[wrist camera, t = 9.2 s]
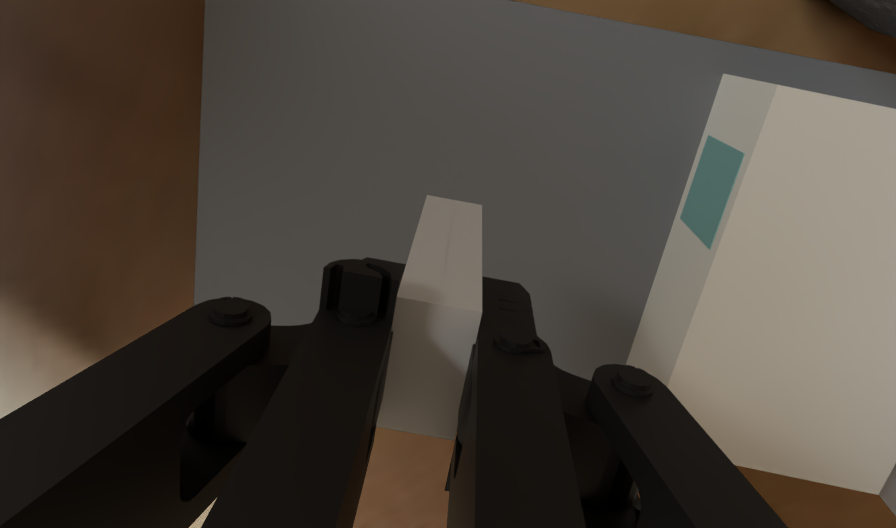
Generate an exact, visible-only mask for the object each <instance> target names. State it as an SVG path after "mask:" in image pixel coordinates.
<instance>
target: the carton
mask: <svg viewBox="0 0 896 528" xmlns="http://www.w3.org/2000/svg"><path fill="white" fill-rule="evenodd" d="M626 365H630V366H634V367H635V368H640V369H642V370H645V371H646V372H647V373H648V374H650V375H652V376H654V377H656V378H657V379H659V380H660V381H661V382H662V383H663V384H664V385H666V386H667V387H668V389H669V390H670V391H671V392H672V393H673V394H674V396H675V397H676V398H677V399H678V400H679V401H680V402H681V404H682V405H683V406H684V407H685V408H686V409H687V411H688V412H689V413H690V414H691V415H692V416H693V418H694V419H695V420H696V421H697V422H698V423H699V425H700V426H701V427H702V428H703V429H704V430H705V432H706V433H707V434H708V435H709V436H710V437H711V438H712V440H713V441H714V442H715V443H716V444H717V445H718V447H719V448H720V449H721V450H722V451H723V452H724V454H725V455H726V456H727V457H728V458H729V459H730V461H731V462H732V463H733V464H734V465H737V466H742V467H746V468H751V469H756V470H761V471H766V472H770V473H775V474H780V475H785V476H789V477H794V478H799V479H804V480H809V481H813V482H818V483H823V484H828V485H833V486H837V487H842V488H847V489H852V490H857V491H861V492H866V493H871V494H876V495H879V493H880V491H881V489H882V487H883V486H884V484H885V482H886V480H887V478H888V476H889V475H890V473H891V471H892V469H893V467H894V466H895V464H896V109H894V108H889V107H884V106H879V105H874V104H869V103H864V102H860V101H855V100H850V99H845V98H840V97H835V96H830V95H826V94H821V93H816V92H811V91H806V90H801V89H796V88H792V87H787V86H782V85H777V84H772V83H767V82H762V81H757V80H753V79H748V78H743V77H738V76H733V75H728V74H723V76H722V79H721V82H720V85H719V88H718V91H717V94H716V97H715V100H714V103H713V106H712V109H711V112H710V115H709V118H708V121H707V124H706V127H705V130H704V133H703V136H702V139H701V142H700V145H699V148H698V151H697V154H696V157H695V160H694V163H693V166H692V169H691V172H690V175H689V178H688V180H687V183H686V186H685V189H684V192H683V195H682V198H681V201H680V204H679V207H678V210H677V213H676V216H675V219H674V222H673V225H672V228H671V231H670V234H669V237H668V240H667V243H666V246H665V249H664V252H663V255H662V258H661V261H660V264H659V267H658V270H657V273H656V276H655V279H654V282H653V285H652V288H651V291H650V294H649V297H648V300H647V303H646V306H645V309H644V312H643V315H642V318H641V321H640V324H639V327H638V330H637V333H636V336H635V339H634V342H633V345H632V348H631V351H630V354H629V357H628V360H627V362H626Z"/></svg>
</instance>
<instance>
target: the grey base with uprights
mask: <svg viewBox="0 0 896 528" xmlns="http://www.w3.org/2000/svg"><path fill="white" fill-rule="evenodd" d="M723 74H728V75H733V76H738V77H743V78H748V79H753V80H757V81H762V82H767V83H772V84H777V85H782V86H787V87H792V88H796V89H801V90H806V91H811V92H816V93H821V94H826V95H830V96H835V97H840V98H845V99H850V100H855V101H860V102H864V103H869V104H874V105H879V106H884V107H889V108H894V109H896V74H892V73H887V72H882V71H877V70H871V69H866V68H861V67H856V66H851V65H845V64H840V63H835V62H830V61H824V60H819V59H814V58H809V57H803V56H798V55H793V54H788V53H783V52H777V51H772V50H767V49H762V48H756V47H751V46H746V45H741V44H736V43H730V42H725V41H720V40H715V39H709V38H704V37H699V36H694V35H688V34H683V33H678V32H673V31H668V30H662V29H657V28H652V27H647V26H641V25H636V24H631V23H626V22H620V21H615V20H610V19H605V18H600V17H594V16H589V15H584V14H579V13H573V12H568V11H563V10H558V9H553V8H547V7H542V6H537V5H532V4H526V3H521V2H516V1H511V0H205V15H204V42H203V68H202V95H201V122H200V149H199V176H198V202H197V229H196V256H195V283H194V306H195V305H197V304H199V303H202V302H204V301H207V300H211V299H218V298H221V297H231V298H233V297H240V298H243V299H246V300H251V301H254V302H256V303H259V304H261V305H263V306H265V307H266V308H267V309H268V310H269V311H270V312H271V326H292V325H303V324H309V323H312V322H313V320H314V318H315V316H316V314H317V313H318V311H319V305H320V296H321V287H322V278H323V269H324V267H325V266H326V265H327V264H329V263H330V262H333V261H337V260H342V259H360V260H362V259H364V258H366V257H369V258H375V259H380V260H386V261H391V262H397V263H402V264H406V263H407V260H408V257H409V254H410V250H411V247H412V244H413V240H414V237H415V234H416V230H417V227H418V224H419V220H420V217H421V214H422V210H423V207H424V204H425V200H426V197H427V195H430V196H435V197H441V198H446V199H452V200H457V201H463V202H468V203H474V204H479V205H482V276H483V277H489V278H494V279H500V280H505V281H511V282H516V283H520V284H521V285H522V286H523V287H524V288H525V289H526V291H527V292H528V293H529V294H530V298H531V303H532V306H531V307H532V309H533V316H534V321H535V327H536V333H537V336H538V337H539V338H540V339H542V340H543V341H544V342H545V343H547V345H548V347H549V349H550V350H551V354H552V359H553V364H554V365H555V366H556V367H558V368H560V369H562V370H564V371H566V372H568V373H571V374H573V375H576V376H578V377H581V378H584V379H587V380H590V381H591V380H592V377H593V374H594V371H595V369H596V368H598V367H600V366H602V365H606V364H620V365H626V362H627V360H628V357H629V354H630V351H631V348H632V345H633V342H634V339H635V336H636V333H637V330H638V327H639V324H640V321H641V318H642V315H643V312H644V309H645V306H646V303H647V300H648V297H649V294H650V291H651V288H652V285H653V282H654V279H655V276H656V273H657V270H658V267H659V264H660V261H661V258H662V255H663V252H664V249H665V246H666V243H667V240H668V237H669V234H670V231H671V228H672V225H673V222H674V219H675V216H676V213H677V210H678V207H679V204H680V201H681V198H682V195H683V192H684V189H685V186H686V183H687V180H688V178H689V175H690V172H691V169H692V166H693V163H694V160H695V157H696V154H697V151H698V148H699V145H700V142H701V139H702V136H703V133H704V130H705V127H706V124H707V121H708V118H709V115H710V112H711V109H712V106H713V103H714V100H715V97H716V94H717V91H718V88H719V85H720V82H721V79H722V76H723ZM879 496H880V497H881V499H882V500H883V501H884V502H885V504H886V505H887V506H888V507H889V508H890V510H891V511H892V512H893V513H894V515H895V516H896V464H895V466H894V467H893V469H892V471H891V473H890V475H889V476H888V478H887V480H886V482H885V484H884V486H883V487H882V489H881V491H880V493H879Z"/></svg>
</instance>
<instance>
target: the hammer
mask: <svg viewBox="0 0 896 528" xmlns="http://www.w3.org/2000/svg"><path fill="white" fill-rule="evenodd" d="M829 1H831V2H832V3H833V4H835V5H836V6H838V7H839V8H840V9H842V10H843V11H845V12H846V13H848V14H849V15H850V16H852V17H853V18H855V19H856V20H857V21H859V22H860V23H862V24H863V25H864V26H866V27H867V28H869V29H870V30H873V31H876V32H879V33H882V34H885V35H888V36H891V37H894V38H896V0H829Z"/></svg>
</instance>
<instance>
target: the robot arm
mask: <svg viewBox="0 0 896 528" xmlns="http://www.w3.org/2000/svg"><path fill="white" fill-rule="evenodd" d="M531 306H532V303H531V298H530V294H529V293H528V292H527V291H526V289H525V288H524V287H523V286H522V285H521V284H520V283H516V282H511V281H505V280H500V279H494V278H489V277H483V276H482V205H479V204H474V203H468V202H463V201H457V200H452V199H446V198H441V197H435V196H430V195H427V197H426V200H425V204H424V207H423V210H422V214H421V217H420V220H419V224H418V227H417V230H416V234H415V237H414V240H413V244H412V247H411V250H410V254H409V257H408V260H407V263H406V264H402V263H397V262H391V261H386V260H380V259H375V258H369V257H366V258H364V259H362V260H360V259H342V260H337V261H333V262H330V263H329V264H327V265H326V266H325V267H324V269H323V278H322V287H321V296H320V305H319V311H318V313H317V314H316V316H315V318H314V320H313V322H312V323H309V324H303V325H292V326H271V312H270V311H269V310H268V309H267V308H266V307H265V306H263V305H261V304H259V303H256V302H254V301H251V300H246V299H243V298H240V297H233V298H231V297H221V298H218V299H211V300H207V301H204V302H202V303H199V304H197V305H195V306H193V307H191V308H190V309H188V310H186V311H185V312H183V313H181V314H179V315H178V316H176V317H174V318H173V319H171V320H169V321H167V322H166V323H164V324H162V325H161V326H159V327H157V328H155V329H154V330H152V331H150V332H149V333H147V334H145V335H143V336H142V337H140V338H138V339H137V340H135V341H133V342H131V343H130V344H128V345H126V346H125V347H123V348H121V349H119V350H118V351H116V352H114V353H113V354H111V355H109V356H107V357H106V358H104V359H102V360H101V361H99V362H97V363H95V364H94V365H92V366H90V367H89V368H87V369H85V370H83V371H82V372H80V373H78V374H77V375H75V376H73V377H71V378H70V379H68V380H66V381H65V382H63V383H61V384H59V385H58V386H56V387H54V388H53V389H51V390H49V391H47V392H46V393H44V394H42V395H41V396H39V397H37V398H35V399H34V400H32V401H30V402H29V403H27V404H25V405H23V406H22V407H20V408H18V409H17V410H15V411H13V412H11V413H10V414H8V415H6V416H5V417H3V418H1V419H0V528H189V527H190V526H191V524H192V523H193V522H194V521H195V520H196V519H197V518H198V517H199V516H200V515H201V514H202V513H203V512H204V511H205V510H206V509H207V507H208V506H209V505H210V504H211V503H212V502H213V501H214V500H215V499H216V498H217V499H216V501H215V503H214V505H213V507H212V508H211V510H210V512H209V514H208V516H207V518H206V520H205V521H204V523H203V525H202V527H201V528H353V524H354V520H355V516H356V511H357V507H358V503H359V499H360V495H361V491H362V487H363V483H364V479H365V475H366V471H367V467H368V463H369V459H370V455H371V451H372V447H373V442H374V436H375V430H376V427H380V428H386V429H391V430H397V431H403V432H408V433H414V434H420V435H425V436H431V437H437V438H442V439H448V440H455V435H456V430H457V436H456V440H455V445H454V450H453V454H452V459H451V463H450V468H449V472H448V477H447V482H446V486H445V491H449V504H448V518H447V528H788V527H787V526H786V524H785V523H784V522H783V521H782V520H781V519H780V517H779V516H778V515H777V514H776V513H775V512H774V510H773V509H772V508H771V507H770V506H769V505H768V503H767V502H766V501H765V500H764V499H763V498H762V497H761V495H760V494H759V493H758V492H757V491H756V490H755V488H754V487H753V486H752V485H751V484H750V483H749V481H748V480H747V479H746V478H745V477H744V476H743V474H742V473H741V472H740V471H739V470H738V469H737V468H736V466H735V465H734V464H733V463H732V462H731V461H730V459H729V458H728V457H727V456H726V455H725V454H724V452H723V451H722V450H721V449H720V448H719V447H718V445H717V444H716V443H715V442H714V441H713V440H712V438H711V437H710V436H709V435H708V434H707V433H706V432H705V430H704V429H703V428H702V427H701V426H700V425H699V423H698V422H697V421H696V420H695V419H694V418H693V416H692V415H691V414H690V413H689V412H688V411H687V409H686V408H685V407H684V406H683V405H682V404H681V402H680V401H679V400H678V399H677V398H676V397H675V396H674V394H673V393H672V392H671V391H670V390H669V389H668V387H667V386H666V385H664V384H663V383H662V382H661V381H660V380H659V379H657V378H656V377H654V376H652V375H650V374H648V373H647V372H646V371H645V370H642V369H640V368H635V367H634V366H630V365H620V364H606V365H602V366H600V367H598V368H596V369H595V371H594V374H593V377H592V380H591V381H590V380H587V379H584V378H581V377H578V376H576V375H573V374H571V373H568V372H566V371H564V370H562V369H560V368H558V367H556V366H555V365H554V364H553V359H552V354H551V350H550V349H549V347H548V345H547V343H545V342H544V341H543V340H542V339H540V338H539V337H538V336H537V333H536V327H535V321H534V316H533V309H532V307H531ZM457 426H458V427H457ZM638 491H639V494H640V498H639V497H638V495H637V494H638ZM640 499H641V500H640Z"/></svg>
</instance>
